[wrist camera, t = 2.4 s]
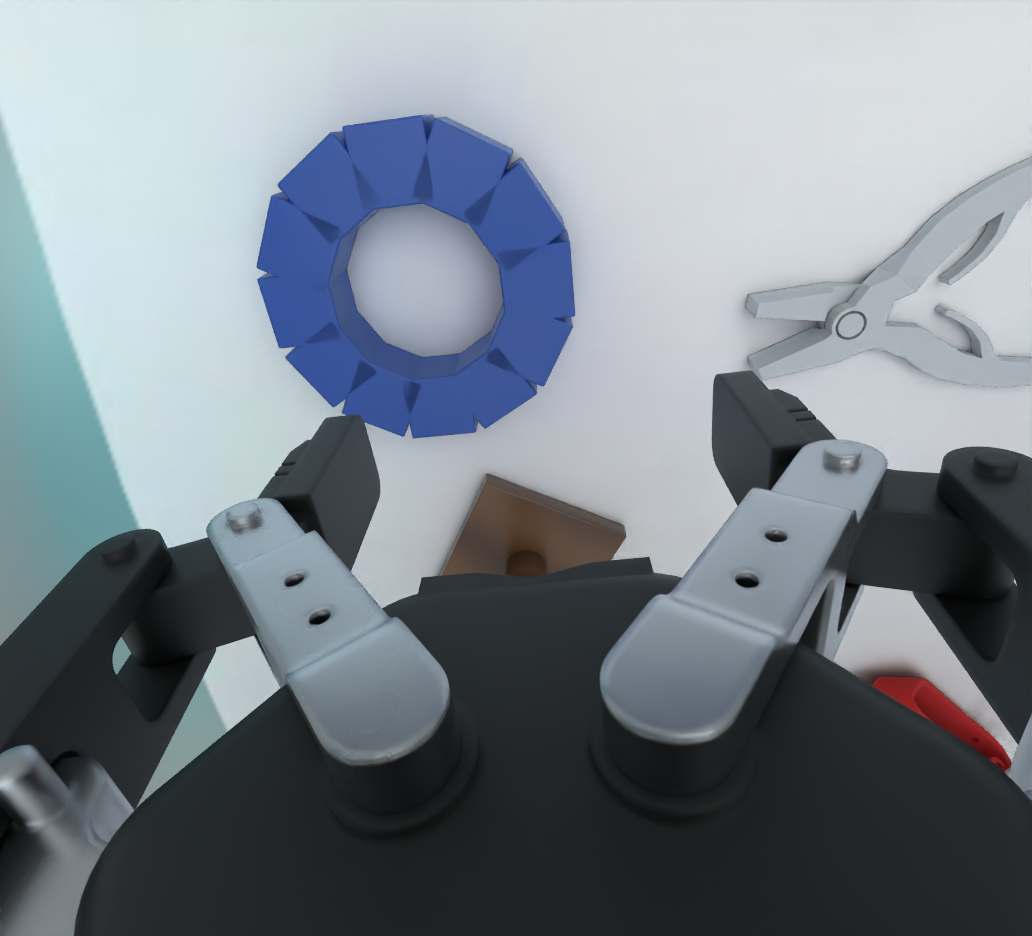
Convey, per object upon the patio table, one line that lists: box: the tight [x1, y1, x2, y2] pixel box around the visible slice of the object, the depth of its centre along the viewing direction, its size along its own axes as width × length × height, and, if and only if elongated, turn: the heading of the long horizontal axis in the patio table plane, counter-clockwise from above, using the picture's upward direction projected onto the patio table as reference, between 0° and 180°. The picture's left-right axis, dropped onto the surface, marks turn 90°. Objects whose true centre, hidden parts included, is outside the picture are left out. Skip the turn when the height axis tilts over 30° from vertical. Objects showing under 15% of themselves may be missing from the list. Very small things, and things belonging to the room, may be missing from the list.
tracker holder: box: [872, 677, 1013, 780], centre depth 39 cm, size 12×4×10 cm
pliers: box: [745, 157, 1032, 387], centre depth 26 cm, size 10×2×15 cm
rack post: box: [439, 474, 626, 577], centre depth 29 cm, size 8×8×12 cm
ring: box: [257, 115, 575, 438], centre depth 26 cm, size 12×12×3 cm
